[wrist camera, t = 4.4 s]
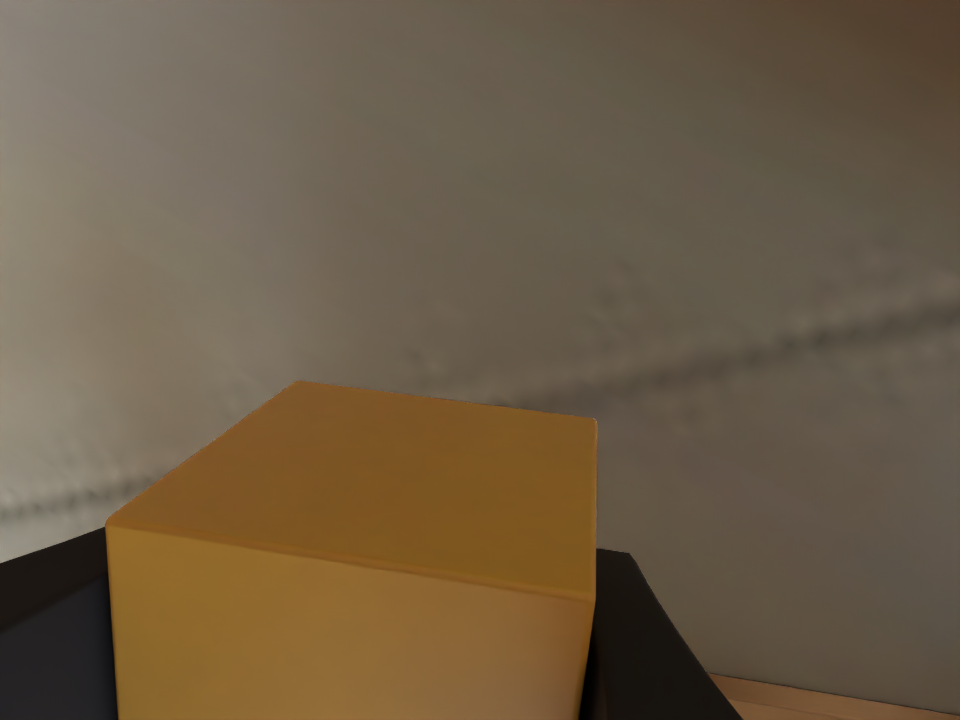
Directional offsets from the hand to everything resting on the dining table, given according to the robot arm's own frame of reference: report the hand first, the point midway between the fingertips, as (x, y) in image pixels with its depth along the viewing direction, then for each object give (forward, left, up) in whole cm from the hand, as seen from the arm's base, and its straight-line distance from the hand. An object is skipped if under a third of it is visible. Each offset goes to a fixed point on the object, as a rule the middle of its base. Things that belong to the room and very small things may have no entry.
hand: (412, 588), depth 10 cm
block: (0, 0, -1) cm, 1 cm away
